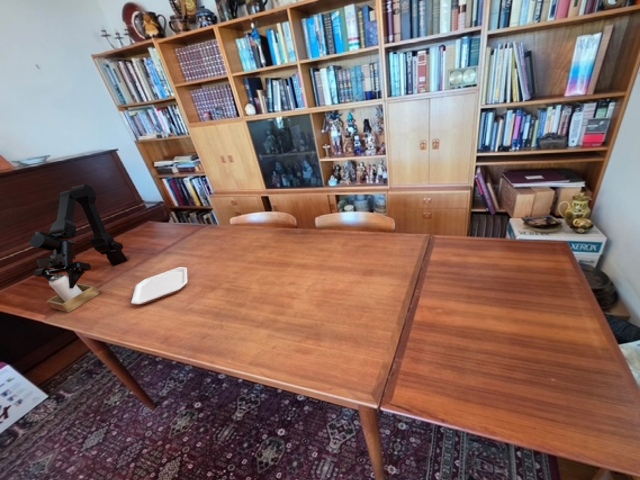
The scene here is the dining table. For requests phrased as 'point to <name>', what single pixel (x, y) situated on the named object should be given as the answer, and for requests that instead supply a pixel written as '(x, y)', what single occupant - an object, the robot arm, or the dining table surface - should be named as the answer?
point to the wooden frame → (74, 298)
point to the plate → (160, 286)
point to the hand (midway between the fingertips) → (63, 289)
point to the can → (63, 287)
